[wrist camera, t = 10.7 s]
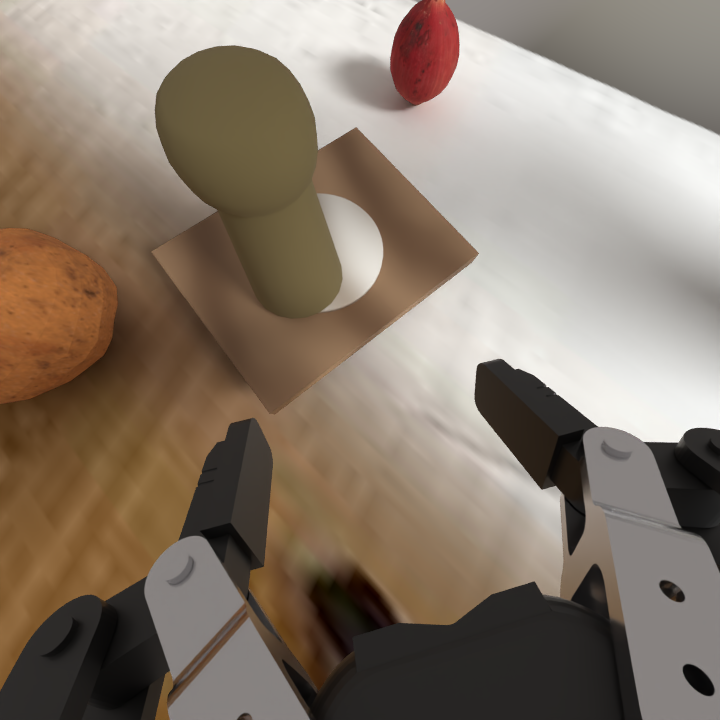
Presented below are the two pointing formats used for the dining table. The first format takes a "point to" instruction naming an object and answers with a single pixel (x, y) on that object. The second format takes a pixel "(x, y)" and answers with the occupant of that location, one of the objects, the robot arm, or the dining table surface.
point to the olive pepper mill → (254, 170)
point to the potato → (49, 313)
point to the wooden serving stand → (359, 271)
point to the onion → (425, 51)
